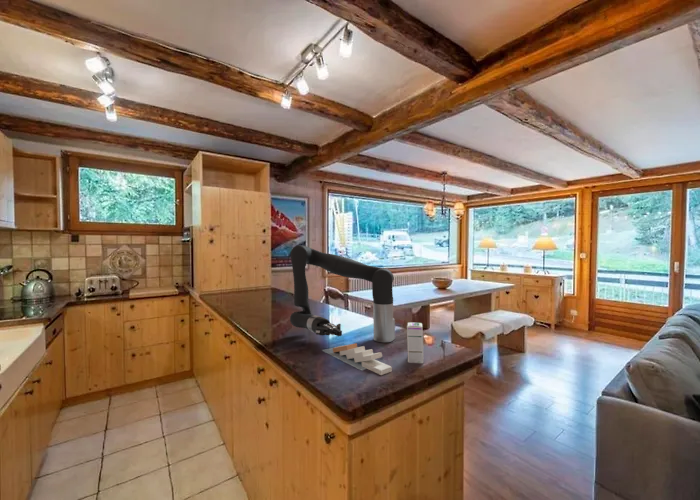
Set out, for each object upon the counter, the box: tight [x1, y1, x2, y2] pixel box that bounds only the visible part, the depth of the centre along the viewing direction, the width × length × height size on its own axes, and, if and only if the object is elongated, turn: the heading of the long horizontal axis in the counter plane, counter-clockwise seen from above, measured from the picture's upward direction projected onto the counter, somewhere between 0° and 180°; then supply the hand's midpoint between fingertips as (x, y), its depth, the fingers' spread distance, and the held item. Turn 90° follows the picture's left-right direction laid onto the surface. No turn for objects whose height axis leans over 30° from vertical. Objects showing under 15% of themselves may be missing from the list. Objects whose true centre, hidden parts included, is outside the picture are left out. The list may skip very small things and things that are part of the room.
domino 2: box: [340, 345, 366, 356], centre depth 117 cm, size 5×2×10 cm
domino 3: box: [346, 348, 374, 359], centre depth 113 cm, size 5×2×10 cm
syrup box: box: [406, 321, 424, 364], centre depth 113 cm, size 6×6×14 cm
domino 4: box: [354, 351, 383, 363], centre depth 109 cm, size 5×2×10 cm
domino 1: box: [332, 343, 358, 352], centre depth 120 cm, size 5×2×10 cm
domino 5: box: [362, 359, 393, 376], centre depth 106 cm, size 5×2×10 cm
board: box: [321, 345, 368, 371], centre depth 118 cm, size 10×26×1 cm, turn 37°
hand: (340, 333), depth 123 cm, fingers closed
